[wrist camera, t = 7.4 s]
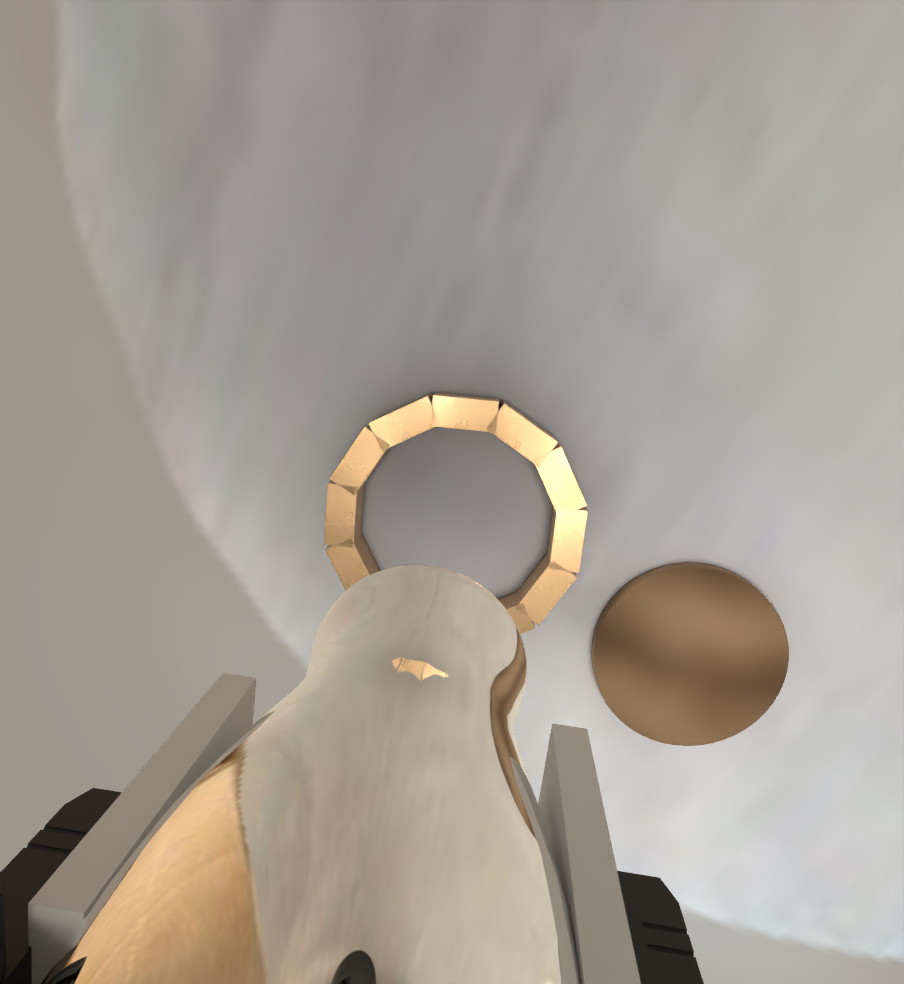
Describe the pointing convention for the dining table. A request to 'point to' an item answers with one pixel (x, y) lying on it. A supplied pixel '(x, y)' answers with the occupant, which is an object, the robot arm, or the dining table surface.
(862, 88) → the dining table surface
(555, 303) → the dining table surface
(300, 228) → the dining table surface
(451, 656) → the beer glass
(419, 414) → the ring
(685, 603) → the walnut coaster
